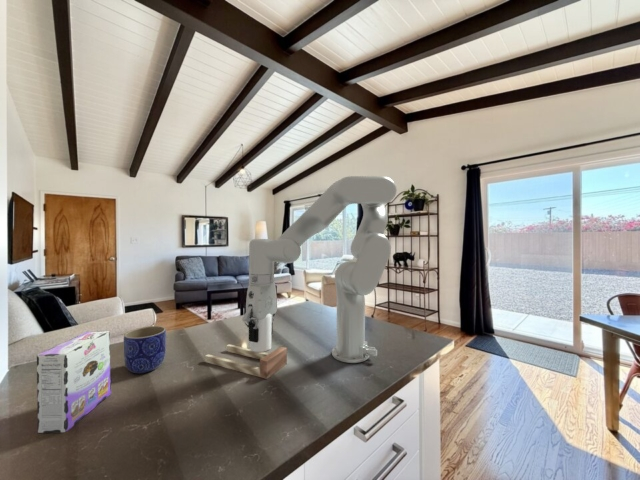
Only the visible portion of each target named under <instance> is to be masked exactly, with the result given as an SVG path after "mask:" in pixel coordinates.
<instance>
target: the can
mask: <svg viewBox="0 0 640 480" xmlns="http://www.w3.org/2000/svg"><path fill="white" fill-rule="evenodd" d="M252 317H254V315H252ZM254 318H255V317H254ZM252 322H253V323H254V322H255V320H253V319H252ZM257 328H258V329H259V336H258V342H257V343H256V342H252V341H249V349H250V350H251V351H252V352H255V353H263V352H265V353H268V352H269V351H270V350H271V349H272V335H271V331H272V315H271V314H267V316H266V317H265V318H264V319H261V320H259V322H258V326H257Z"/></svg>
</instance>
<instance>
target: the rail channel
mask: <svg viewBox="0 0 640 480" xmlns="http://www.w3.org/2000/svg"><path fill="white" fill-rule="evenodd" d="M225 347H226V350H225V351H226V352H229V353H233V354H237V355H240V356H245V357H250V358H252V359H257V360H259V367H258V366H256V365H251V364H247V363H243V362H241V361H240V362H239V361H235V360H233V359H228V358H224V357H221V356H215V355H214V354H213V355H212V354H209V353H208V354H206V355H204V357H205V358H204V360H205V363H208V364H211V365H215V366H218V367H223V368H225V369H229V370H233V371H237V372H241V373H244V374H247V375H252V376H255V377H258V378H261V379H266V380H268V379H269V378H270V377H272V376H273V375H274V374H276V373H277V372H279V370H281V369H282V368H283V367H284V366H286V365H287V362H288V357H287V356H288V354H287V353H288V347H284V346H279V347H278V348H276V349H274V350H273V351H271V352H269V353H268V352H263V353H255V352H252V351H251V350H250V348H247V347H243V346H237V345H234V344H231V343H230V344H227V345H226V346H225Z"/></svg>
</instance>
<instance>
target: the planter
mask: <svg viewBox="0 0 640 480" xmlns="http://www.w3.org/2000/svg"><path fill="white" fill-rule="evenodd" d="M166 353H167V329H166V327H164V326H161V325H154V326H153V325H149V326H142V327H138V328H135V329H131V330H129V331H127V332H126V333H124V335H123V361H124V365H125V367H126V369H127V370H128V371H129V372H131V373H133V374H144V373H145V374H146V373H149V372H152V371H154V370H156V369H158V368H159V367H161V365H162V364H163V363H164V361H165V359H166Z"/></svg>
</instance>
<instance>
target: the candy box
mask: <svg viewBox="0 0 640 480" xmlns="http://www.w3.org/2000/svg"><path fill="white" fill-rule="evenodd" d="M110 332H111V331H110V330H103V331H102V330H100V331H96V330H95V331H86V332H83V333H82V334H78V335H77V336H75V337H73V338H71V339H69V340H65V342H62V343H60V344H58V345H55V346H53V347H52V348H49V349H48V350H44V351H42V352H41V353H39V354H36V391H37V393H36V398H37V400H36V405H37V408H36V409H37V434H45V433H46V434H49V433H51V434H52V433H53V434H54V433H58V434H59V433H66V432H68V431H69V430H71V429H72V428H73V427H74V426H75V425H77V424H78V423H79V422H80V421H81V420H82V419H83V418H84V417H86V416H87V414H89V413H91V411H92V410H94V409H95V408H96V407H97V406H99V405H100V404H101V403H102V401H104V400H105V399H107V398H108V397H109V396H110V395H111V394H112V388H111V387H112V385H111V384H112V383H111V380H112V379H111V340H110V339H111V336H110V335H111V333H110Z"/></svg>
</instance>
